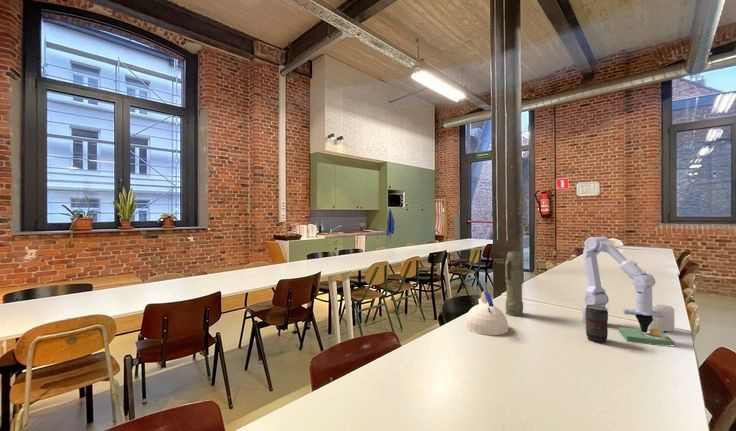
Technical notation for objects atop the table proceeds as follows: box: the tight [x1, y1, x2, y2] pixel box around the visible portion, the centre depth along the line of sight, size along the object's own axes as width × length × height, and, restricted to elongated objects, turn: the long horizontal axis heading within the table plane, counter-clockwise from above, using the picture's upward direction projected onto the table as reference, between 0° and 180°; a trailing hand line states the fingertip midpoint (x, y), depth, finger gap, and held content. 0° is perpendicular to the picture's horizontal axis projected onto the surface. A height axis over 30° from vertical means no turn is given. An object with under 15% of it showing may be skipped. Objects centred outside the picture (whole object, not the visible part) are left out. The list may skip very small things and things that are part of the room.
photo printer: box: [649, 303, 675, 333], centre depth 154 cm, size 10×4×12 cm, turn 98°
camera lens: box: [585, 304, 609, 344], centre depth 143 cm, size 8×8×15 cm
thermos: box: [504, 250, 524, 317], centre depth 181 cm, size 9×12×35 cm
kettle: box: [464, 291, 509, 336], centre depth 161 cm, size 20×21×18 cm
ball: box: [649, 329, 661, 337], centre depth 143 cm, size 4×4×4 cm
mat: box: [618, 326, 676, 346], centre depth 144 cm, size 16×12×2 cm
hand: (644, 331), depth 144 cm, fingers closed
